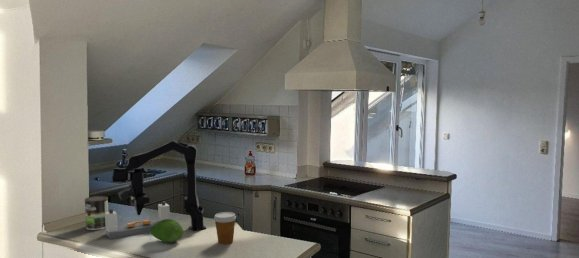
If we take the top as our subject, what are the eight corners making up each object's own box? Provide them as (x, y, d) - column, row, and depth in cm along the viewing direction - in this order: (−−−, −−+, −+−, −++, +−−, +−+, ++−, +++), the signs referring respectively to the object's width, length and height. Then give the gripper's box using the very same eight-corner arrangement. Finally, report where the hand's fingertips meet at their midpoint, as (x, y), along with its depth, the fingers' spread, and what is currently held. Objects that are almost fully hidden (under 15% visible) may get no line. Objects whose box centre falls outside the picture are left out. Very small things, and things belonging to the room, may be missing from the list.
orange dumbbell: (150, 223, 217) (150, 220, 217) (128, 227, 211) (128, 223, 211) (148, 222, 219) (148, 219, 219) (127, 226, 214) (126, 223, 214)
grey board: (171, 227, 220) (171, 222, 219) (109, 238, 205) (109, 233, 204) (166, 223, 226) (165, 218, 226) (105, 234, 211) (105, 228, 211)
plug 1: (118, 230, 208) (116, 210, 207) (108, 232, 206) (107, 211, 205) (115, 228, 212) (114, 207, 211) (106, 229, 210) (105, 209, 209)
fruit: (145, 242, 199) (144, 220, 198) (161, 235, 208) (160, 214, 207) (172, 247, 193) (172, 224, 192) (188, 240, 201) (187, 218, 200)
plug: (170, 221, 221) (169, 202, 220) (161, 223, 219) (161, 203, 218) (166, 219, 225) (166, 200, 224) (158, 220, 223) (157, 201, 222)
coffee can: (97, 231, 216) (96, 201, 214) (81, 228, 220) (79, 199, 218) (113, 225, 225) (112, 196, 224) (97, 222, 229) (96, 195, 228)
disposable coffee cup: (227, 247, 192) (226, 219, 191) (209, 243, 198) (209, 215, 196) (241, 240, 201) (240, 213, 199) (224, 236, 206) (223, 210, 204)
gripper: (114, 180, 217) (116, 213, 218) (124, 188, 201) (125, 222, 203) (138, 178, 223) (139, 209, 224) (149, 184, 207) (151, 218, 209)
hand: (138, 215), depth 215 cm, fingers closed
